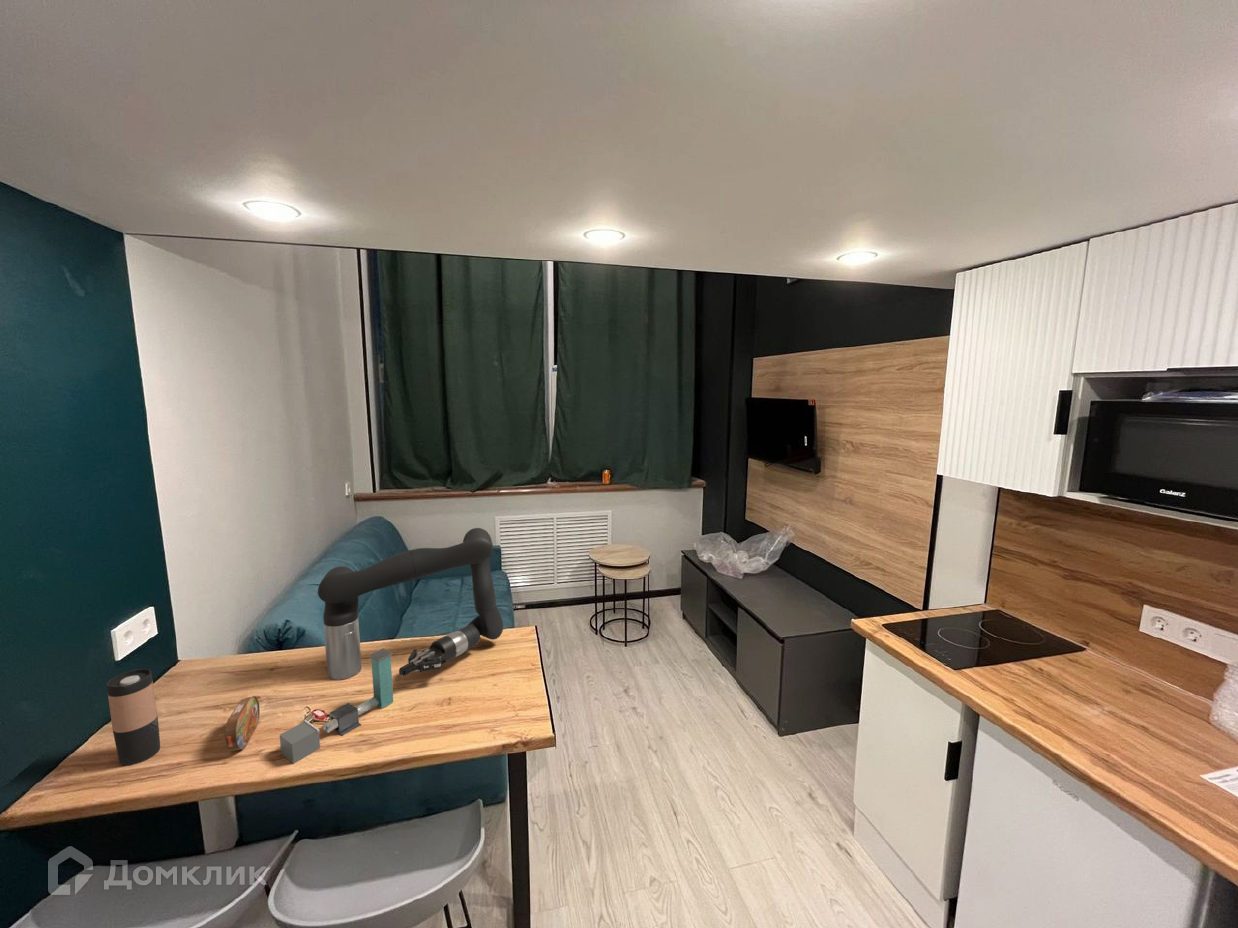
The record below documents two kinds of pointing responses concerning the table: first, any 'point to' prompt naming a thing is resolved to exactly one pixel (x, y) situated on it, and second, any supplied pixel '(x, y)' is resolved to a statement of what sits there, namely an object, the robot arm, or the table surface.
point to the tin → (242, 723)
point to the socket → (299, 741)
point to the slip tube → (374, 686)
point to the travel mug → (134, 716)
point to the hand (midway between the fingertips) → (400, 672)
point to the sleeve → (345, 718)
